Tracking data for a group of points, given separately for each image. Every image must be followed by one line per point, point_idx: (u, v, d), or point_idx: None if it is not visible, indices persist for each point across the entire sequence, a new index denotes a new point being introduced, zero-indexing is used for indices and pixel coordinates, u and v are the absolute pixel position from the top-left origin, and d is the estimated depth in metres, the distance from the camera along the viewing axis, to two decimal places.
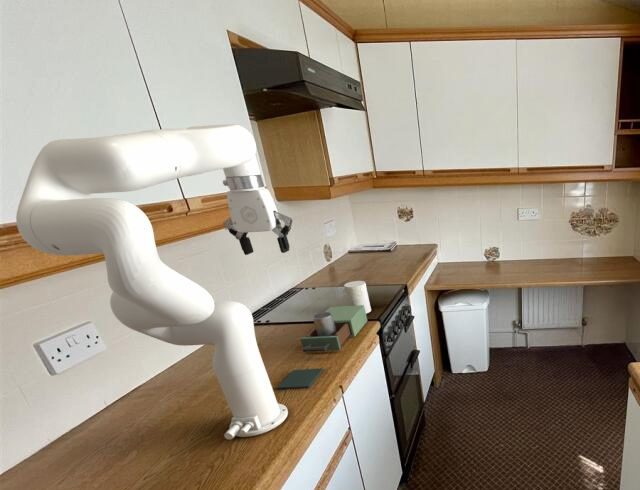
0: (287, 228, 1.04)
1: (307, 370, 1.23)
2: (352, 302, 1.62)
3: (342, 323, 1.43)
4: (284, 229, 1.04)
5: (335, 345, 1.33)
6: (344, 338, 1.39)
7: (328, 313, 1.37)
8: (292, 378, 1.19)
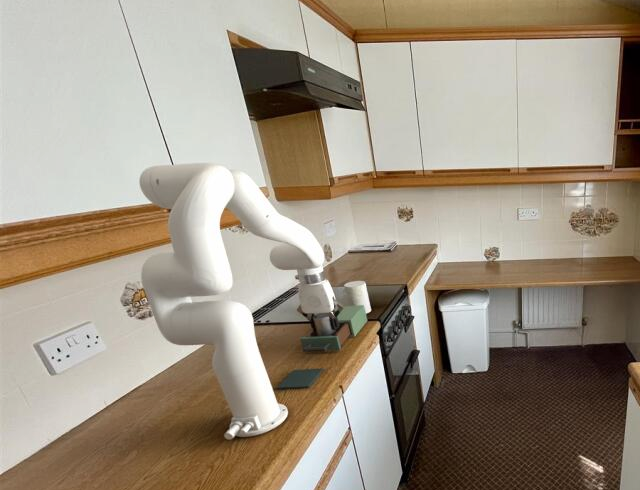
0: (338, 312, 1.34)
1: (307, 370, 1.23)
2: (352, 302, 1.62)
3: (342, 323, 1.43)
4: (336, 313, 1.34)
5: (335, 345, 1.33)
6: (344, 338, 1.39)
7: None
8: (292, 378, 1.19)
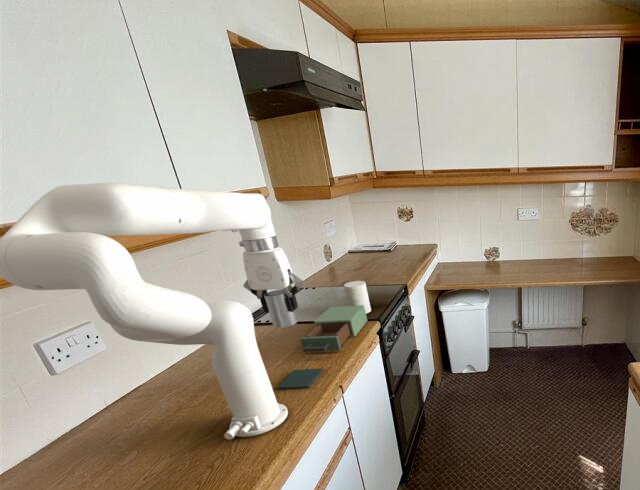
0: (296, 289, 1.08)
1: (307, 370, 1.23)
2: (352, 302, 1.62)
3: (342, 323, 1.43)
4: (293, 290, 1.08)
5: (335, 345, 1.33)
6: (344, 338, 1.39)
7: None
8: (292, 378, 1.19)
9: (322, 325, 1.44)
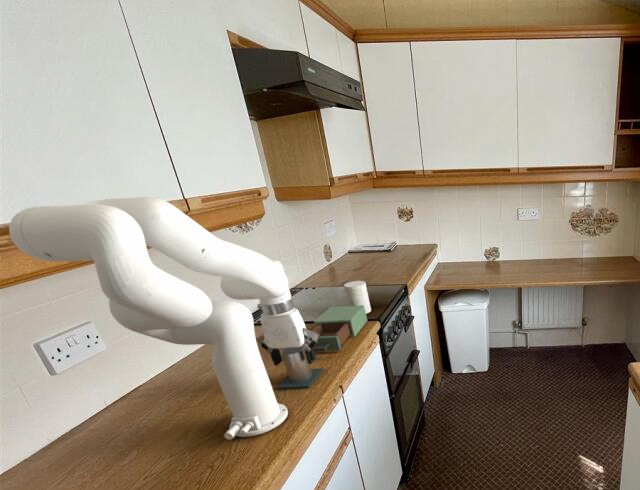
0: (314, 343, 1.13)
1: None
2: (352, 302, 1.62)
3: (342, 323, 1.43)
4: (312, 344, 1.13)
5: (335, 345, 1.33)
6: (344, 338, 1.39)
7: (299, 347, 1.17)
8: None
9: (322, 325, 1.44)
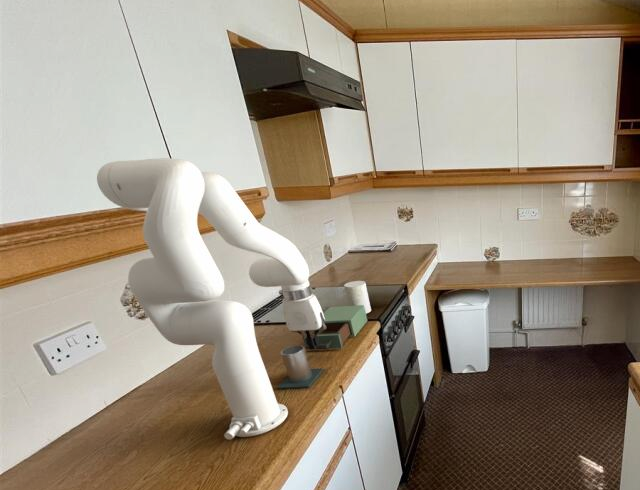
0: (317, 331, 1.26)
1: None
2: (352, 302, 1.62)
3: None
4: (315, 331, 1.25)
5: (337, 343, 1.34)
6: (346, 336, 1.41)
7: (299, 347, 1.17)
8: None
9: None
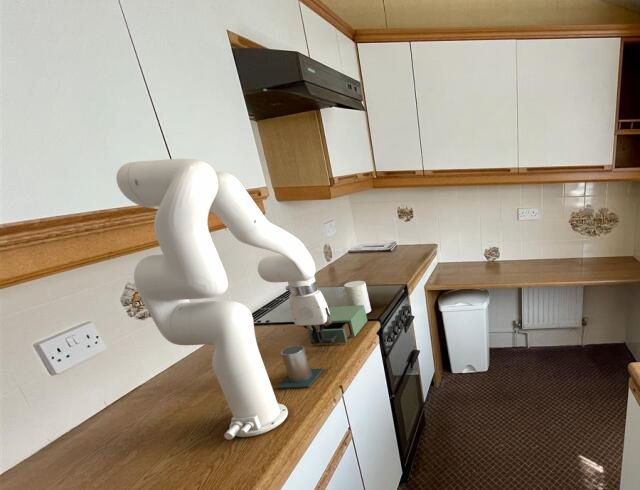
0: (323, 326, 1.29)
1: None
2: (352, 302, 1.62)
3: None
4: (321, 326, 1.29)
5: (341, 337, 1.38)
6: (350, 331, 1.45)
7: (299, 347, 1.17)
8: None
9: None
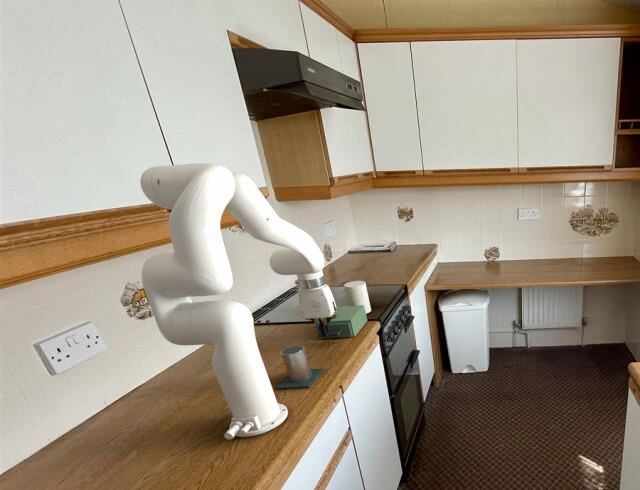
0: (329, 319, 1.34)
1: None
2: (352, 302, 1.62)
3: None
4: (327, 319, 1.34)
5: (347, 331, 1.43)
6: None
7: (299, 347, 1.17)
8: None
9: None
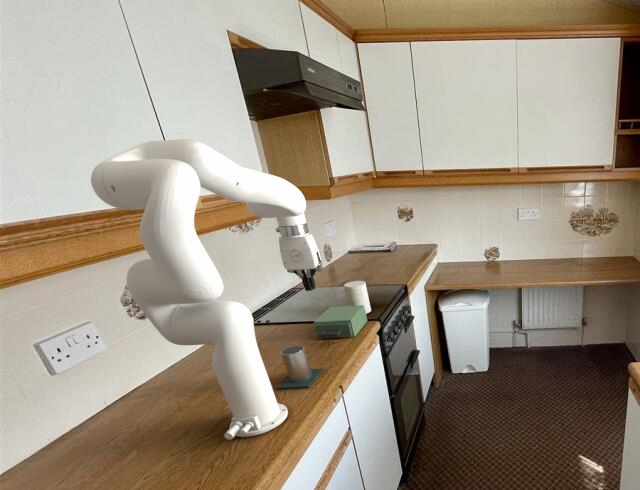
0: (314, 272, 1.25)
1: None
2: (352, 302, 1.62)
3: None
4: (311, 271, 1.25)
5: (347, 331, 1.43)
6: None
7: (299, 347, 1.17)
8: None
9: None
